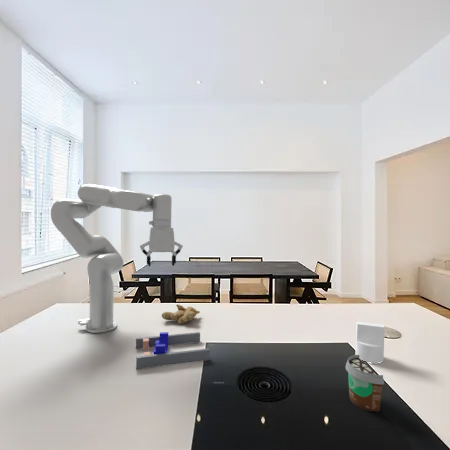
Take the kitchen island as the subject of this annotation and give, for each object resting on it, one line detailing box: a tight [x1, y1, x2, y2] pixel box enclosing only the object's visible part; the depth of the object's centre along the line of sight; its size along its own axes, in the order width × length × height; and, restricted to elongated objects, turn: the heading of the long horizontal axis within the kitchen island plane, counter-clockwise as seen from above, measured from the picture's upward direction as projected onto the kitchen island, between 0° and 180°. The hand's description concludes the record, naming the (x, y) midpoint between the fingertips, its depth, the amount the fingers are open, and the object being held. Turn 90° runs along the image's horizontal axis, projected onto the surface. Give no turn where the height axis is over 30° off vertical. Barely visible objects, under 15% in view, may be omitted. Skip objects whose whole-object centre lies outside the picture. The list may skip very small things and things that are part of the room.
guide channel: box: [135, 331, 211, 370], centre depth 107 cm, size 24×16×4 cm
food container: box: [345, 354, 385, 412], centre depth 81 cm, size 12×6×10 cm, turn 5°
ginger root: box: [161, 303, 201, 325], centre depth 141 cm, size 16×16×8 cm
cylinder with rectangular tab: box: [354, 321, 385, 363], centre depth 106 cm, size 9×9×12 cm
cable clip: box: [153, 331, 169, 355], centre depth 105 cm, size 12×4×6 cm, turn 5°
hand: (161, 265), depth 125 cm, fingers open, 9 cm apart
